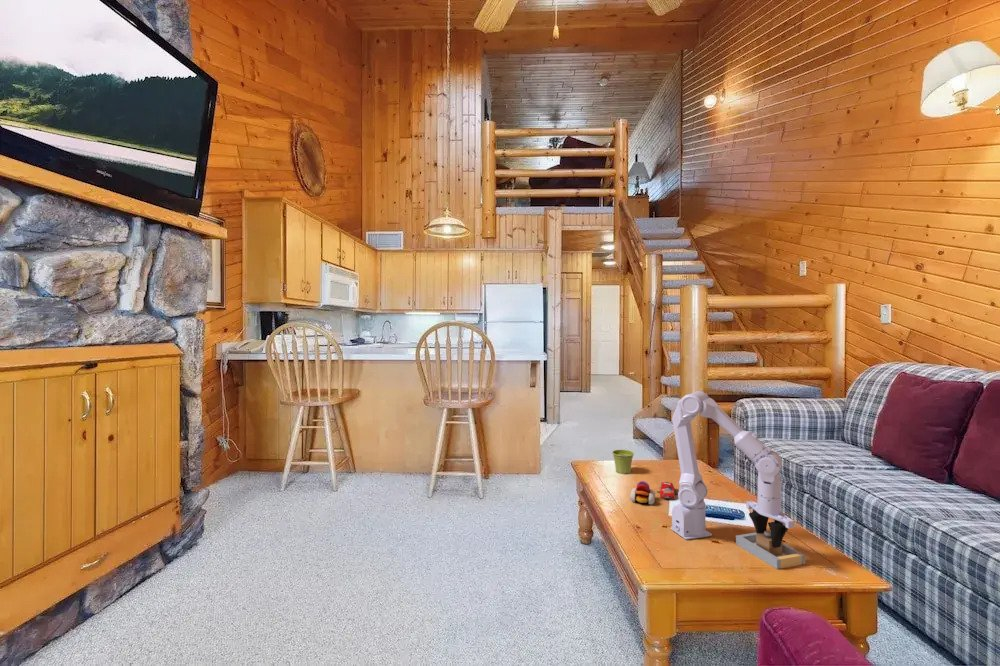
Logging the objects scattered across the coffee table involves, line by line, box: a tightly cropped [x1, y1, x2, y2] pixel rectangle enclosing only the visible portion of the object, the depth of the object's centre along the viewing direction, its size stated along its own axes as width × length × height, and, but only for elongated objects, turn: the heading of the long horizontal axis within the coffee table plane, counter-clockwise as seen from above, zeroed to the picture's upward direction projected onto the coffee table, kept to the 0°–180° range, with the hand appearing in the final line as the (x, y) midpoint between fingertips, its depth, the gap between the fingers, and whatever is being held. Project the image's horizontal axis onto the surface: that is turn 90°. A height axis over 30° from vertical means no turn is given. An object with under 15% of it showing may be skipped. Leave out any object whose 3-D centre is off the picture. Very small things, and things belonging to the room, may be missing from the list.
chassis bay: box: [735, 532, 806, 570], centre depth 128 cm, size 9×14×2 cm, turn 15°
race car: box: [659, 481, 676, 500], centre depth 174 cm, size 13×5×4 cm, turn 159°
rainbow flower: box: [629, 480, 656, 506], centre depth 167 cm, size 8×10×7 cm
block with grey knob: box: [756, 530, 783, 556], centre depth 128 cm, size 4×4×6 cm
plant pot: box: [611, 449, 635, 475], centre depth 200 cm, size 9×9×9 cm
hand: (769, 542), depth 128 cm, fingers closed on block with grey knob, 4 cm apart
